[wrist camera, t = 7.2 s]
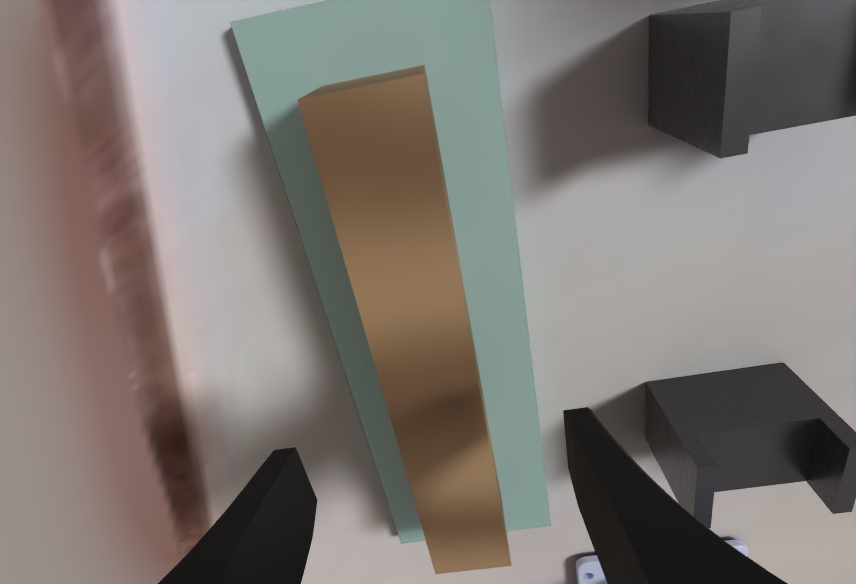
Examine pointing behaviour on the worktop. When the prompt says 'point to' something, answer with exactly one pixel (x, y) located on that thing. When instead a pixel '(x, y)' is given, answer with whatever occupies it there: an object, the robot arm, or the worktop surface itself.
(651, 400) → the post
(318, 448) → the worktop surface
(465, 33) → the mat
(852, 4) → the post
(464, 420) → the rail
